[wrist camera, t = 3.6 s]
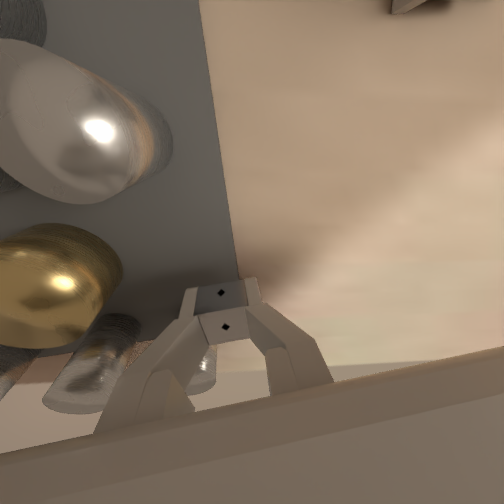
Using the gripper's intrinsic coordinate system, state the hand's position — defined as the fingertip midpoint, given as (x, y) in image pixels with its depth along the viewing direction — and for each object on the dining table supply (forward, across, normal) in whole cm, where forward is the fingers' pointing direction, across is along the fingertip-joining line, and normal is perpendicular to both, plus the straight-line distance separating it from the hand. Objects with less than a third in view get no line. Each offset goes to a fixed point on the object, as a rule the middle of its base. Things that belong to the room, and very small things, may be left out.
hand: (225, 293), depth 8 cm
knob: (+2, +7, -1) cm, 8 cm away
